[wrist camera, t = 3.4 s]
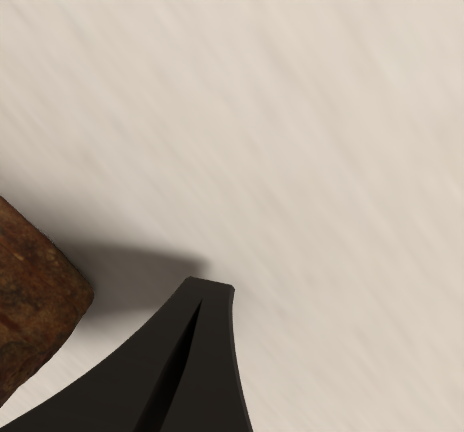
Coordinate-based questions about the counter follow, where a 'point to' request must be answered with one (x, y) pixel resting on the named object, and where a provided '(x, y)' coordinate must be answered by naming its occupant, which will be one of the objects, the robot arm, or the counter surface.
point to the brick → (33, 299)
